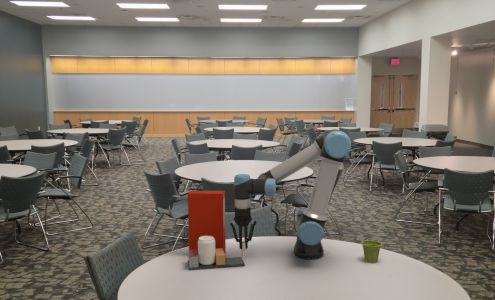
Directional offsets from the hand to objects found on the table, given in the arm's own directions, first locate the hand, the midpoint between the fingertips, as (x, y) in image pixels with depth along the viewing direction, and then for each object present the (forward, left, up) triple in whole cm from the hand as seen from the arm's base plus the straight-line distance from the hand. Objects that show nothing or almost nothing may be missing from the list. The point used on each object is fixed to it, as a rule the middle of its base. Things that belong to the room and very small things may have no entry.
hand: (243, 255), depth 222 cm
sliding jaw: (+12, 0, -2) cm, 12 cm away
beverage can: (+18, 0, -3) cm, 18 cm away
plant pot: (-61, +9, -4) cm, 61 cm away
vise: (+13, 0, -4) cm, 14 cm away
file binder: (+16, -15, -4) cm, 22 cm away
